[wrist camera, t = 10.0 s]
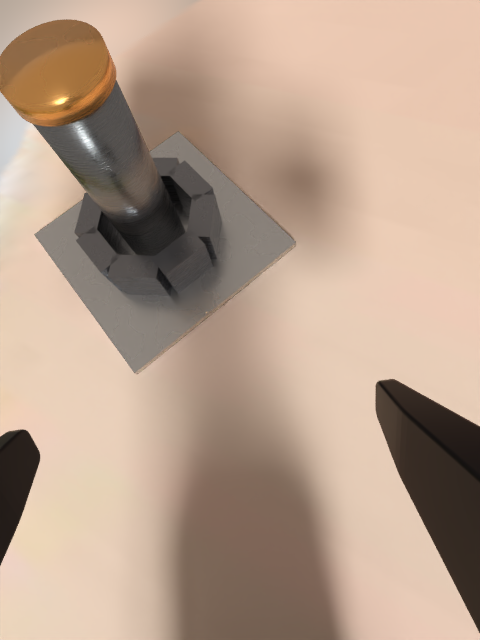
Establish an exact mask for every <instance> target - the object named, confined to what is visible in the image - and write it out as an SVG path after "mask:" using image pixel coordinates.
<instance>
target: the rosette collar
mask: <svg viewBox="0 0 480 640" xmlns="http://www.w3.org/2000/svg"><path fill="white" fill-rule="evenodd" d="M150 155H151V157H152V159H153V161H154V163H155V166H156V168H157V170H158V172H159V174H160V176H161V179H162V181H163V183H164V185H165V187H166V189H167V192H168V194H169V196H170V198H171V200H172V203H173V205H174V207H175V209H176V211H177V213H178V216H179V218H180V220H181V222H182V224H183V227H184V229H185V233H184V234H183V235H182V236H181V237H179V238H178V239H177V240H175V241H174V242H173V243H171V244H170V245H169V246H168V247H166V248H165V249H164V250H162V251H161V252H160V253H158V254H157V255H156V256H145V255H136V254H135V252H134V251H133V250H132V249H131V247H130V246H129V245H128V244H127V242H126V241H125V240H124V238H123V237H122V236H121V235H120V233H119V232H118V231H117V230H116V228H115V227H114V226H113V225H112V223H111V222H110V221H109V220H108V218H107V217H106V216H105V214H104V213H103V212H102V211H101V209H100V208H99V207H98V206H97V204H96V203H95V202H94V201H93V199H92V198H91V197H90V195H89V194H88V193H85V194H84V198H83V200H82V201H80V202H79V203H78V204H76V205H75V206H73V207H72V208H71V209H69V210H68V211H66V212H65V213H64V214H62V215H61V216H59V217H58V218H57V219H55V220H54V221H52V222H51V223H50V224H48V225H47V226H45V227H44V228H43V229H41V230H40V231H39V232H37V233H36V234H34V235H35V236H36V238H37V239H38V241H39V242H40V243H41V245H42V246H43V247H44V249H45V250H46V252H47V253H48V254H49V256H50V257H51V258H52V260H53V261H54V263H55V264H56V265H57V267H58V268H59V269H60V271H61V272H62V274H63V275H64V276H65V278H66V279H67V281H68V282H69V283H70V285H71V286H72V287H73V289H74V290H75V292H76V293H77V294H78V296H79V297H80V298H81V300H82V301H83V303H84V304H85V305H86V307H87V308H88V310H89V311H90V312H91V314H92V315H93V316H94V318H95V319H96V321H97V322H98V323H99V325H100V326H101V327H102V329H103V330H104V332H105V333H106V334H107V336H108V337H109V338H110V340H111V341H112V343H113V344H114V345H115V347H116V348H117V350H118V351H119V352H120V354H121V355H122V356H123V358H124V359H125V361H126V362H127V363H128V365H129V366H130V367H131V369H132V370H133V372H134V373H136V374H139V373H140V372H141V371H142V370H143V369H145V368H146V367H147V366H148V365H150V364H151V363H152V362H153V361H155V360H156V359H157V358H158V357H159V356H161V355H162V354H163V353H164V352H166V351H167V350H168V349H169V348H171V347H172V346H173V345H174V344H175V343H177V342H178V341H179V340H180V339H182V338H183V337H184V336H185V335H186V334H188V333H189V332H190V331H191V330H193V329H194V328H195V327H196V326H198V325H199V324H200V323H201V322H202V321H204V320H205V319H206V318H207V317H209V316H210V315H211V314H212V313H214V312H215V311H216V310H217V309H218V308H220V307H221V306H222V305H223V304H225V303H226V302H227V301H228V300H230V299H231V298H232V297H233V296H234V295H236V294H237V293H238V292H239V291H241V290H242V289H243V288H244V287H246V286H247V285H248V284H249V283H250V282H252V281H253V280H254V279H255V278H257V277H258V276H259V275H260V274H262V273H263V272H264V271H265V270H266V269H268V268H269V267H270V266H271V265H273V264H274V263H275V262H276V261H278V260H279V259H280V258H281V257H282V256H284V255H285V254H286V253H287V252H289V251H290V250H291V249H292V248H294V247H295V246H296V242H295V241H294V240H293V239H292V238H291V237H290V236H289V235H288V234H287V233H286V232H285V231H284V230H283V229H282V228H280V227H279V226H278V225H277V224H276V223H275V222H274V221H273V220H272V219H271V218H270V217H269V216H268V215H267V214H266V213H265V212H264V211H262V210H261V209H260V208H259V207H258V206H257V205H256V204H255V203H254V202H253V201H252V200H251V199H250V198H249V197H248V196H247V195H245V194H244V193H243V192H242V191H241V190H240V189H239V188H238V187H237V186H236V185H235V184H234V183H233V182H232V181H231V180H230V179H229V178H227V177H226V176H225V175H224V174H223V173H222V172H221V171H220V170H219V169H218V168H217V167H216V166H215V165H214V164H213V163H212V162H211V161H209V160H208V159H207V158H206V157H205V156H204V155H203V154H202V153H201V152H200V151H199V150H198V149H197V148H196V147H195V146H194V145H193V144H191V143H190V142H189V141H188V140H187V139H186V138H185V137H184V136H183V135H182V134H181V133H180V132H179V131H178V132H176V133H175V134H174V135H172V136H171V137H169V138H168V139H167V140H165V141H164V142H162V143H161V144H160V145H158V146H157V147H156V148H154V149H153V150H151V151H150Z"/></svg>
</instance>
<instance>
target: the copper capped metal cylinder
mask: <svg viewBox="0 0 480 640" xmlns="http://www.w3.org/2000/svg"><path fill="white" fill-rule="evenodd" d="M0 91H1V93H2V94H3V95H4V97H5V98H6V99H7V100H8V101H9V103H10V104H11V105H12V106H13V108H14V109H15V110H16V111H17V113H18V114H19V115H20V116H21V117H22V118H23V119H25V120H26V121H28V122H30V123H32V124H33V125H34V126H35V127H36V128H37V130H38V131H39V132H40V134H41V135H42V136H43V137H44V139H45V140H46V141H47V142H48V144H49V145H50V146H51V147H52V149H53V150H54V151H55V153H56V154H57V155H58V156H59V158H60V159H61V160H62V161H63V163H64V164H65V165H66V166H67V168H68V169H69V170H70V171H71V173H72V174H73V175H74V177H75V178H76V179H77V180H78V182H79V183H80V184H81V185H82V187H83V188H84V189H85V190H86V192H87V193H88V194H89V195H90V197H91V198H92V199H93V201H94V202H95V203H96V204H97V206H98V207H99V208H100V209H101V211H102V212H103V213H104V214H105V216H106V217H107V218H108V220H109V221H110V222H111V223H112V225H113V226H114V227H115V228H116V230H117V231H118V232H119V233H120V235H121V236H122V237H123V238H124V240H125V241H126V242H127V244H128V245H129V246H130V247H131V249H132V250H133V251H134V252H135V254H136V255H145V256H156V255H157V254H158V253H160V252H161V251H162V250H164V249H165V248H166V247H168V246H169V245H170V244H171V243H173V242H174V241H175V240H177V239H178V238H179V237H181V236H182V235H183V234H184V233H185V229H184V227H183V224H182V222H181V220H180V218H179V216H178V213H177V211H176V209H175V207H174V205H173V203H172V200H171V198H170V196H169V194H168V192H167V189H166V187H165V185H164V183H163V181H162V179H161V176H160V174H159V172H158V170H157V168H156V166H155V163H154V161H153V159H152V157H151V155H150V152H149V150H148V148H147V146H146V144H145V142H144V139H143V137H142V135H141V133H140V131H139V128H138V126H137V124H136V122H135V120H134V118H133V115H132V113H131V111H130V109H129V107H128V105H127V102H126V100H125V98H124V96H123V94H122V91H121V89H120V87H119V85H118V83H117V81H116V68H115V65H114V62H113V60H112V58H111V56H110V53H109V51H108V49H107V47H106V44H105V42H104V40H103V38H102V36H101V34H100V33H99V32H98V31H97V29H96V28H94V27H93V26H91V25H89V24H88V23H85V22H82V21H77V20H56V21H51V22H47V23H44V24H41V25H38V26H35V27H34V28H31V29H29V30H28V31H26V32H24V33H23V34H21V35H20V36H18V37H17V38H16V39H15V40H13V41H12V42H11V43H10V44H9V45H8V46H7V47H6V49H5V50H4V51H3V52H2V54H1V56H0Z"/></svg>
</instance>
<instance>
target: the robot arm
mask: <svg viewBox="0 0 480 640" xmlns="http://www.w3.org/2000/svg"><path fill="white" fill-rule="evenodd" d="M376 414H377V417H378V420H379V423H380V425H381V428H382V431H383V433H384V436H385V439H386V441H387V444H388V447H389V449H390V452H391V455H392V457H393V460H394V463H395V465H396V468H397V470H398V473H399V475H400V477H401V479H402V481H403V483H404V485H405V487H406V489H407V491H408V493H409V495H410V497H411V499H412V501H413V503H414V505H415V507H416V509H417V511H418V513H419V515H420V517H421V519H422V521H423V523H424V525H425V527H426V529H427V531H428V532H429V534H430V536H431V538H432V540H433V542H434V544H435V546H436V548H437V550H438V552H439V554H440V556H441V558H442V560H443V562H444V564H445V566H446V568H447V570H448V572H449V574H450V576H451V578H452V580H453V582H454V584H455V585H456V587H457V589H458V591H459V593H460V595H461V597H462V599H463V601H464V603H465V605H466V607H467V609H468V611H469V613H470V615H471V617H472V619H473V621H474V623H475V625H476V627H477V629H478V631H479V633H480V426H478V425H476V424H474V423H473V422H471V421H469V420H467V419H465V418H464V417H462V416H460V415H458V414H456V413H455V412H453V411H451V410H449V409H447V408H445V407H444V406H442V405H440V404H438V403H436V402H435V401H433V400H431V399H429V398H427V397H426V396H424V395H422V394H420V393H418V392H417V391H415V390H413V389H411V388H409V387H408V386H406V385H404V384H402V383H400V382H399V381H397V380H395V379H389V380H381V381H378V382H377V383H376ZM39 462H40V452H39V450H38V448H37V446H36V445H35V443H34V441H33V439H32V437H31V435H30V434H29V432H28V431H26V430H15V431H9V432H7V433H5V434H4V435H2V436H1V437H0V565H1V563H2V561H3V558H4V556H5V554H6V552H7V549H8V547H9V545H10V542H11V540H12V538H13V536H14V533H15V531H16V529H17V526H18V524H19V521H20V519H21V516H22V513H23V510H24V507H25V504H26V501H27V498H28V495H29V492H30V489H31V486H32V483H33V480H34V477H35V474H36V471H37V468H38V465H39Z"/></svg>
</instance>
